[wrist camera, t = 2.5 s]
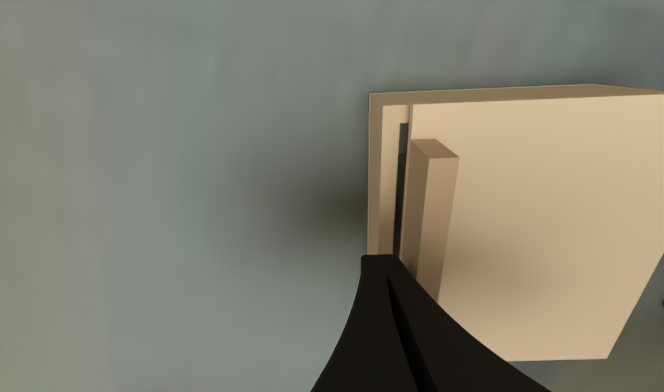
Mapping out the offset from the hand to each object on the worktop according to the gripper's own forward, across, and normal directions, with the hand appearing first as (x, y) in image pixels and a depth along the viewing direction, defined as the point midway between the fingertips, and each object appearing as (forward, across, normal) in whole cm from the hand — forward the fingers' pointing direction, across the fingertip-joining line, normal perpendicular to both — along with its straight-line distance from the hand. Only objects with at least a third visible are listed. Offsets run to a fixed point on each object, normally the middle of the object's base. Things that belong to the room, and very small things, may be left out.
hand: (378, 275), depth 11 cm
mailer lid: (+1, -6, 0) cm, 6 cm away
